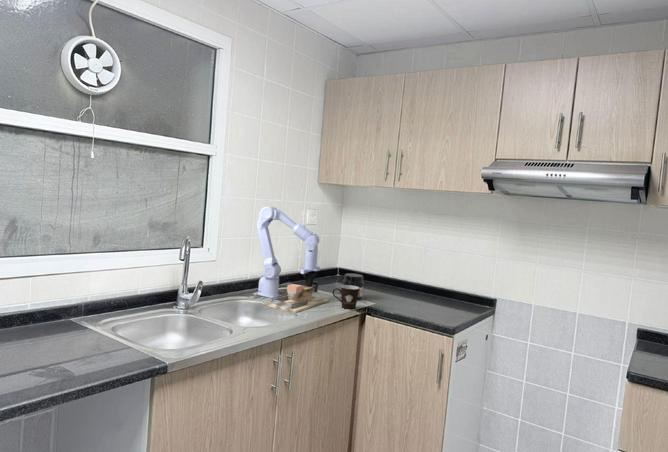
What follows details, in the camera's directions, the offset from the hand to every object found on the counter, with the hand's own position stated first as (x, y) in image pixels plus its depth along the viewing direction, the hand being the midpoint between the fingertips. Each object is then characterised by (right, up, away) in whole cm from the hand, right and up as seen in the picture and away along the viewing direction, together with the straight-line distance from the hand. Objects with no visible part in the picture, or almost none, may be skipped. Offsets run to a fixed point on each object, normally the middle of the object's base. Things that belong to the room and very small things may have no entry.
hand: (309, 286), depth 226 cm
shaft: (-3, -3, -5) cm, 6 cm away
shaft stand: (-5, -7, -7) cm, 11 cm away
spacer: (-6, -1, -11) cm, 12 cm away
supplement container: (+21, -8, +13) cm, 26 cm away
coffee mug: (+18, -9, -8) cm, 21 cm away
